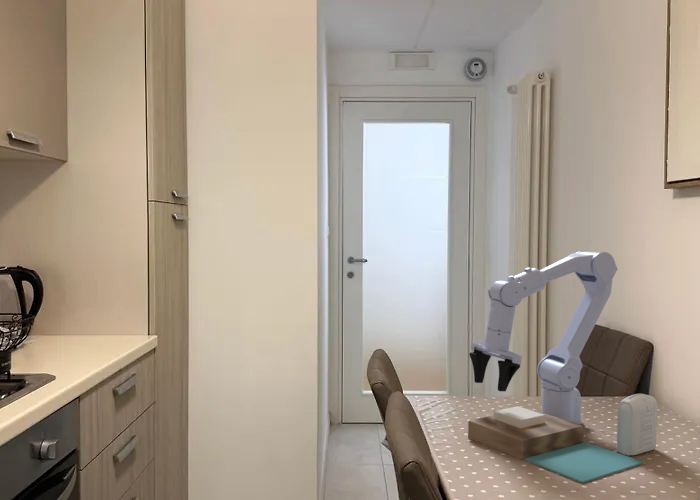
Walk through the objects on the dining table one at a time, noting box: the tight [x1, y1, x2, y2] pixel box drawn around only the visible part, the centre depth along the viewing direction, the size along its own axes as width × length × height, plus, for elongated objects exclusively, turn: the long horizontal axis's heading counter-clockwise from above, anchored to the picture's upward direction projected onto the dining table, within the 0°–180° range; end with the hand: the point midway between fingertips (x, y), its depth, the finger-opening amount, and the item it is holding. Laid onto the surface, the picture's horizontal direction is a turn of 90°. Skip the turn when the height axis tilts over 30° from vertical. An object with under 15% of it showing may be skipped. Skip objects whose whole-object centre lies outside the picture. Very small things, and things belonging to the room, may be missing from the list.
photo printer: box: [616, 393, 659, 457], centre depth 138 cm, size 10×4×12 cm, turn 123°
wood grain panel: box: [467, 407, 585, 460], centre depth 144 cm, size 20×16×4 cm
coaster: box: [493, 406, 545, 428], centre depth 145 cm, size 8×8×2 cm
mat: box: [524, 442, 645, 484], centre depth 131 cm, size 20×14×1 cm
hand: (489, 386), depth 152 cm, fingers open, 7 cm apart
